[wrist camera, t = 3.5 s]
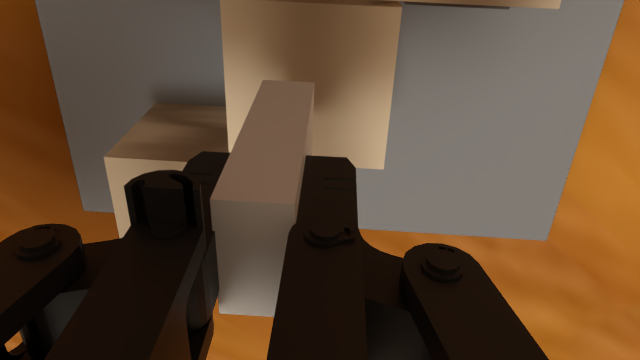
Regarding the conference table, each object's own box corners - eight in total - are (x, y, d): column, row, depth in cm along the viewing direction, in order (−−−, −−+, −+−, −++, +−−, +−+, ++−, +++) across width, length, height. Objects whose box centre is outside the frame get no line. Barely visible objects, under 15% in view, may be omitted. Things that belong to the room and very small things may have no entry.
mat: (88, 205, 29) (83, 210, 28) (-12, -238, 19) (-22, -241, 19) (542, 234, 28) (546, 240, 28) (683, -213, 18) (693, -216, 18)
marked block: (169, 208, 28) (125, 284, 23) (155, 102, 25) (100, 160, 19) (276, 215, 28) (257, 293, 22) (275, 109, 25) (253, 170, 19)
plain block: (255, 104, 25) (229, 160, 19) (251, -26, 22) (219, -2, 16) (376, 111, 24) (383, 169, 19) (390, -19, 22) (402, 7, 16)
